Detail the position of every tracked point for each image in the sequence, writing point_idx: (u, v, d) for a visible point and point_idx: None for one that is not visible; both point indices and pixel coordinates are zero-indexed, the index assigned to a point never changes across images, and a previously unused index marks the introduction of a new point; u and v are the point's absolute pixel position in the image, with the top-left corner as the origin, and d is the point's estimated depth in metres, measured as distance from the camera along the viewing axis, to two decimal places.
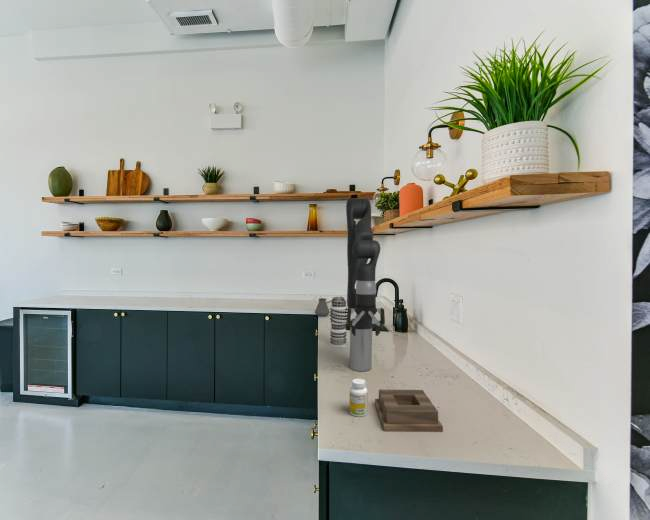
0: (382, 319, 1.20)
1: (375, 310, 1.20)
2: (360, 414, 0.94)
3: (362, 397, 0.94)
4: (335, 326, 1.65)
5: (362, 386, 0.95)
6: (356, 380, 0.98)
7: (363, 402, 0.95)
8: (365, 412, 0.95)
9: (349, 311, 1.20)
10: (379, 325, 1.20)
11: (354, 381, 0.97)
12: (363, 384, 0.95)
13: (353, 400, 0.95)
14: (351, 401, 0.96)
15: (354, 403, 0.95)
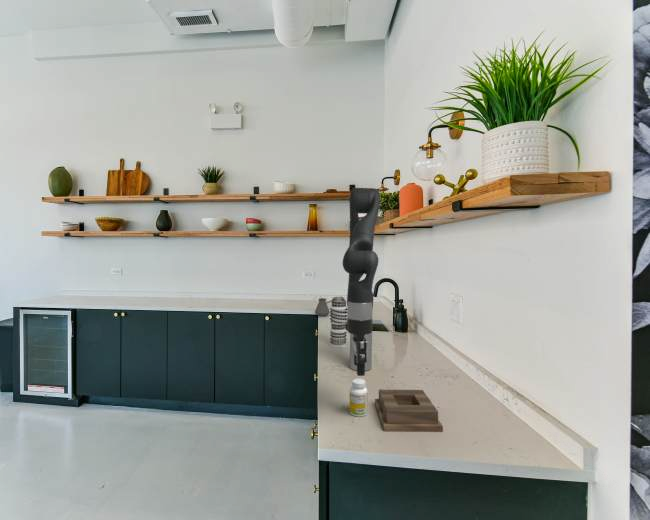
0: None
1: None
2: (360, 414, 0.94)
3: (362, 397, 0.94)
4: (335, 326, 1.65)
5: (362, 386, 0.95)
6: (356, 380, 0.98)
7: (363, 402, 0.95)
8: (365, 412, 0.95)
9: None
10: None
11: (354, 381, 0.97)
12: (363, 384, 0.95)
13: (353, 400, 0.95)
14: (351, 401, 0.96)
15: (354, 403, 0.95)
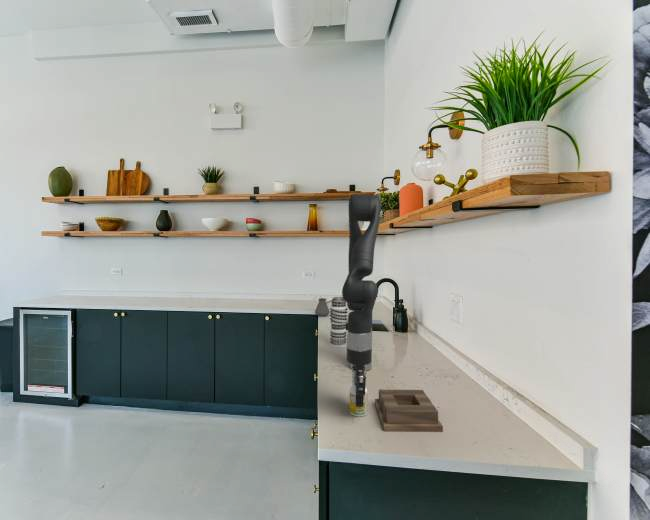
0: None
1: None
2: (360, 414, 0.94)
3: None
4: (335, 326, 1.65)
5: None
6: None
7: (363, 402, 0.95)
8: (365, 412, 0.95)
9: (365, 379, 0.91)
10: None
11: None
12: None
13: (353, 400, 0.95)
14: (351, 401, 0.96)
15: (354, 403, 0.95)
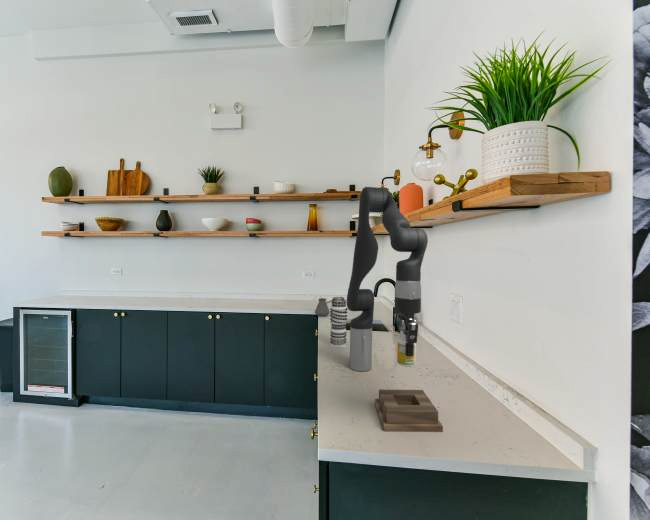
0: None
1: None
2: (410, 364, 0.92)
3: None
4: (335, 326, 1.65)
5: (411, 336, 0.93)
6: None
7: None
8: (414, 363, 0.93)
9: None
10: None
11: (402, 331, 0.94)
12: None
13: (402, 350, 0.93)
14: (400, 351, 0.93)
15: (403, 353, 0.93)
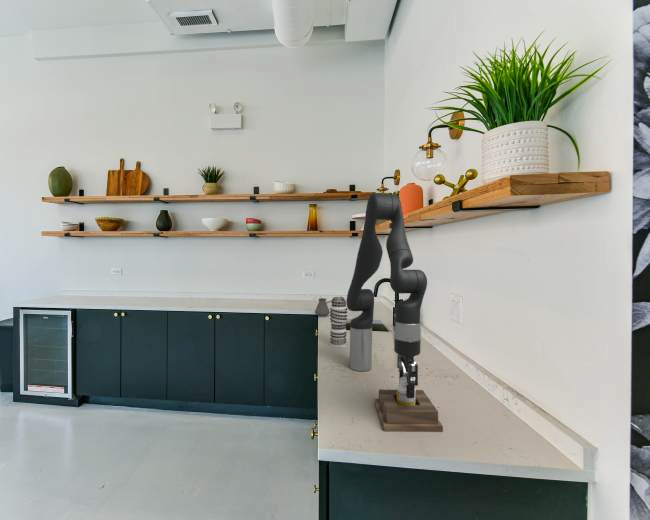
0: None
1: None
2: None
3: None
4: (335, 326, 1.65)
5: None
6: (404, 378, 0.96)
7: (412, 401, 0.93)
8: None
9: None
10: None
11: (402, 379, 0.94)
12: None
13: (402, 399, 0.93)
14: (399, 399, 0.94)
15: (402, 401, 0.93)
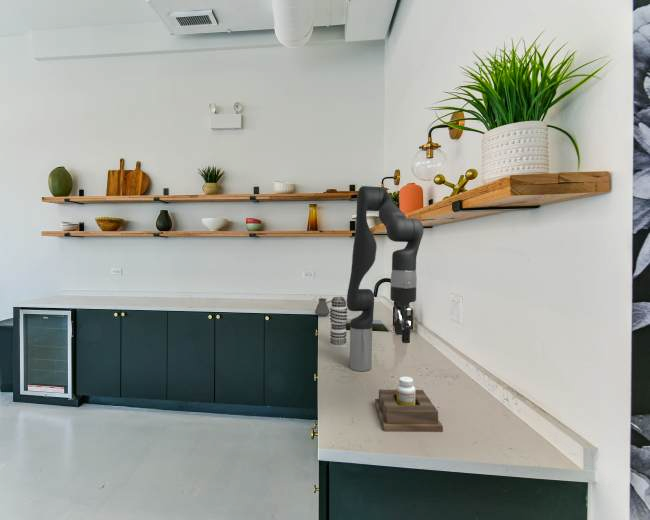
0: None
1: None
2: None
3: (411, 395, 0.92)
4: (335, 326, 1.65)
5: (411, 384, 0.93)
6: (403, 378, 0.96)
7: (412, 400, 0.93)
8: None
9: None
10: None
11: (402, 379, 0.95)
12: (411, 382, 0.93)
13: (402, 399, 0.93)
14: (399, 399, 0.94)
15: (402, 401, 0.93)
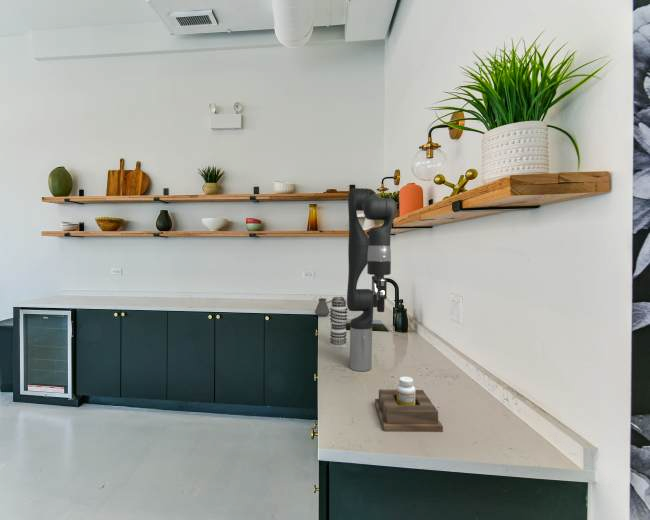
0: None
1: None
2: None
3: (411, 395, 0.92)
4: (335, 326, 1.65)
5: (411, 384, 0.93)
6: (403, 378, 0.96)
7: (412, 401, 0.93)
8: None
9: None
10: None
11: (402, 379, 0.95)
12: (412, 382, 0.93)
13: (402, 399, 0.93)
14: (399, 399, 0.94)
15: (402, 401, 0.93)
